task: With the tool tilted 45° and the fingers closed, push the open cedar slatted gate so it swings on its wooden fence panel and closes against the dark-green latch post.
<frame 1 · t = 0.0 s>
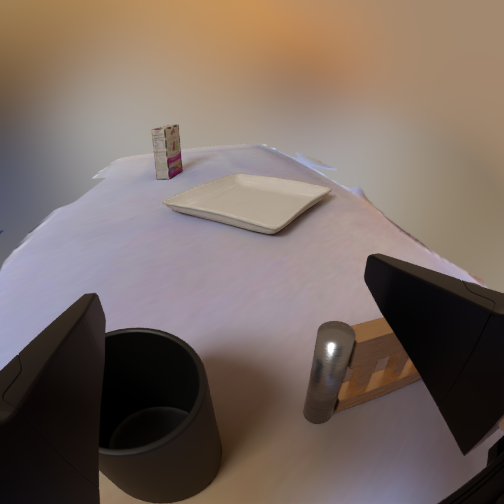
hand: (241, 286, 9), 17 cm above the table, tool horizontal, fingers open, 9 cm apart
mug: (162, 439, 20), on the table
wooden fence panel: (442, 363, 25), on the table
candy bar box: (169, 176, 96), on the table
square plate: (251, 208, 66), on the table
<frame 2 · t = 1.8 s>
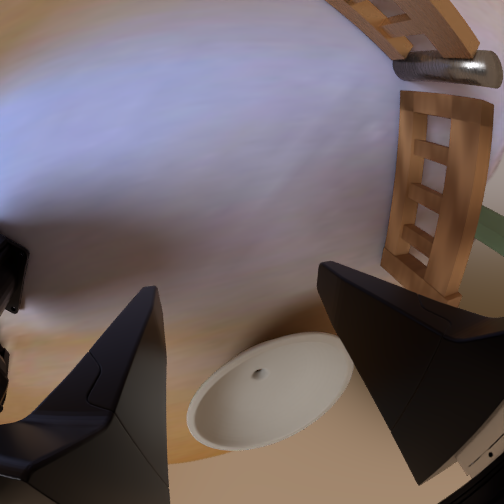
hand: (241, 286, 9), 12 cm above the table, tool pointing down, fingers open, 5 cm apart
dish: (257, 365, 29), on the table
wooden fence panel: (403, 66, 19), on the table
latch post: (460, 211, 27), on the table
gate: (436, 199, 19), point 5 cm above the table, hinge at 0.0°
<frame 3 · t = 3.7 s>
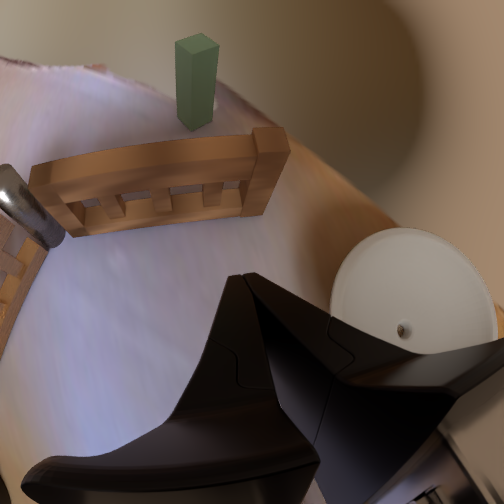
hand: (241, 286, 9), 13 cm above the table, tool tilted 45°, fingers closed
dish: (396, 331, 24), on the table
wooden fence panel: (53, 234, 22), on the table
latch post: (194, 118, 27), on the table
gate: (157, 188, 19), point 5 cm above the table, hinge at 0.0°
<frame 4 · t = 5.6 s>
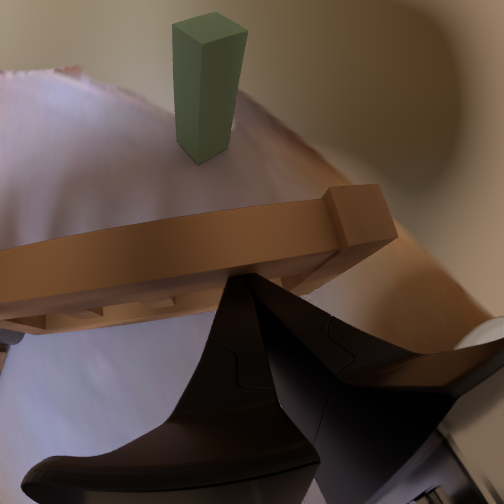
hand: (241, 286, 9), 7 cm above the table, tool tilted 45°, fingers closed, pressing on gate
dish: (456, 423, 16), on the table
wooden fence panel: (11, 324, 13), on the table
latch post: (202, 144, 19), on the table
gate: (147, 285, 11), point 5 cm above the table, hinge at 1.8°, touching gripper
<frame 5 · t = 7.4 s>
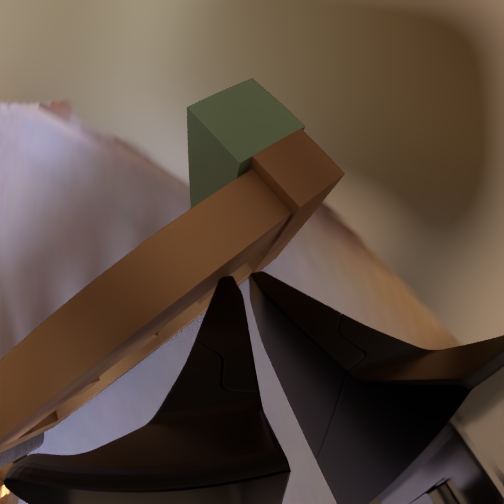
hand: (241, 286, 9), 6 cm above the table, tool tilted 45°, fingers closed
wooden fence panel: (27, 429, 11), on the table
latch post: (223, 228, 17), on the table
gate: (122, 334, 10), point 5 cm above the table, hinge at 30.5°, touching gripper, latch post
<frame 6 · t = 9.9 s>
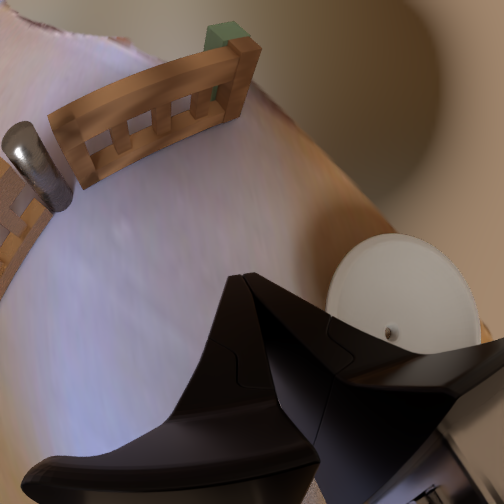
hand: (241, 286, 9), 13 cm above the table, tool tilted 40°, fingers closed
dish: (384, 333, 25), on the table
wooden fence panel: (59, 198, 21), on the table
latch post: (213, 103, 27), on the table
gate: (159, 108, 20), point 5 cm above the table, hinge at 30.5°, touching latch post
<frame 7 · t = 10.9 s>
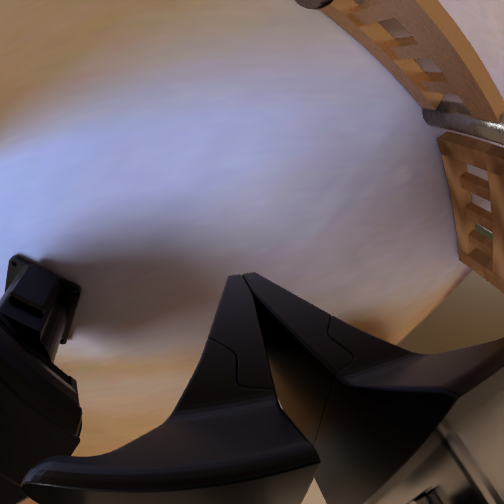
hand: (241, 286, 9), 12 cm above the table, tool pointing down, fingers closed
wooden fence panel: (431, 112, 21), on the table
latch post: (471, 237, 29), on the table
gate: (487, 218, 22), point 5 cm above the table, hinge at 30.5°, touching latch post
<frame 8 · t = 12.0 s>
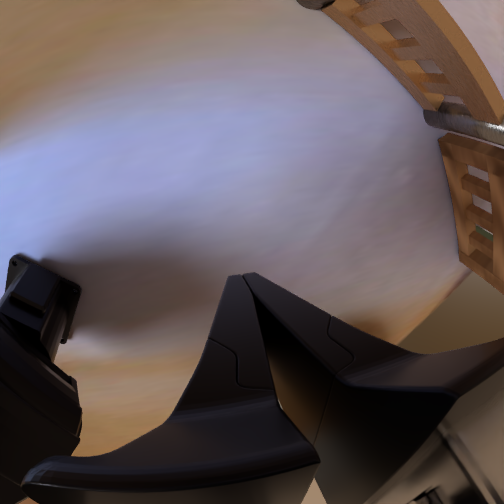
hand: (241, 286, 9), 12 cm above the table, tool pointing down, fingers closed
wooden fence panel: (432, 113, 21), on the table
latch post: (471, 238, 29), on the table
gate: (487, 220, 22), point 5 cm above the table, hinge at 30.5°, touching latch post
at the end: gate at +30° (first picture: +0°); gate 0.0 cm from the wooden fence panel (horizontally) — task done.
